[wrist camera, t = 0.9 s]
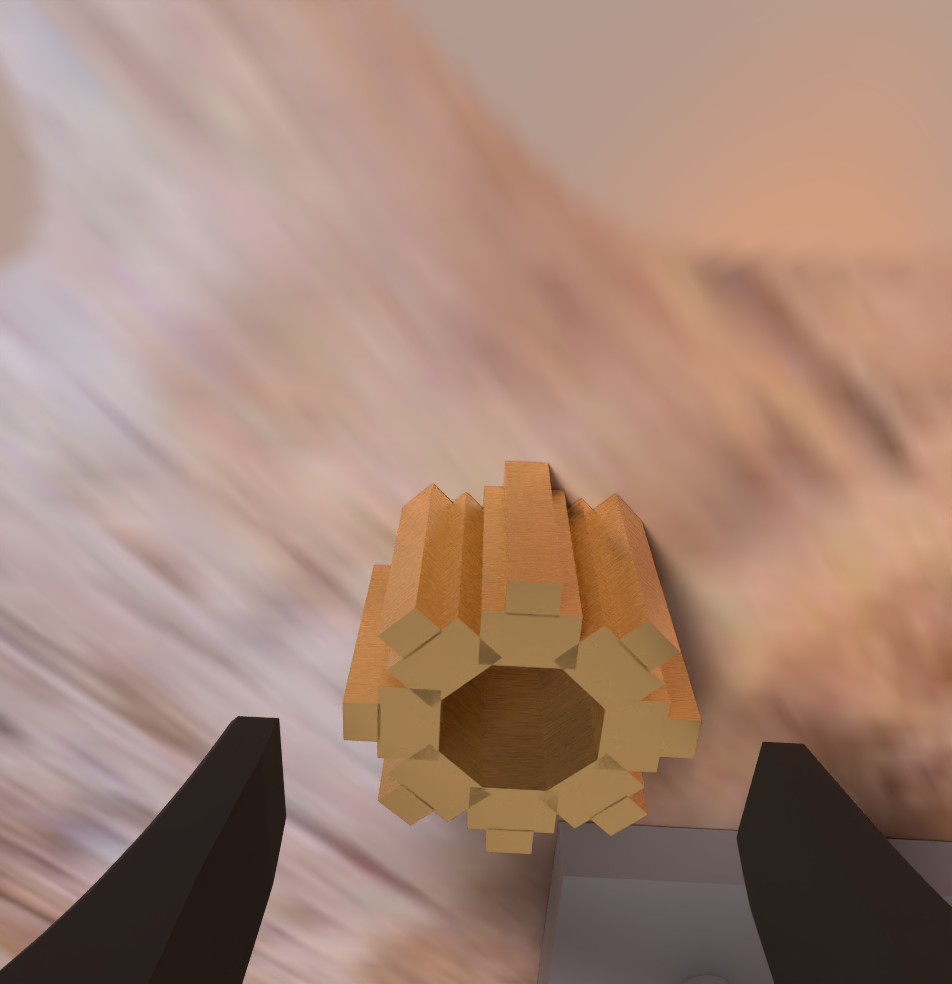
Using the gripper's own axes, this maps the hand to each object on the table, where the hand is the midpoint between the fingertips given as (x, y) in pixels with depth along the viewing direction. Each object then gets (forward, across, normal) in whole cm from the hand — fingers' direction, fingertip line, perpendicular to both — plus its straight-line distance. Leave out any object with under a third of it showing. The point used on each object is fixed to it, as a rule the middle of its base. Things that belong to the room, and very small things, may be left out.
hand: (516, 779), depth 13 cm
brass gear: (+5, 0, 0) cm, 5 cm away
